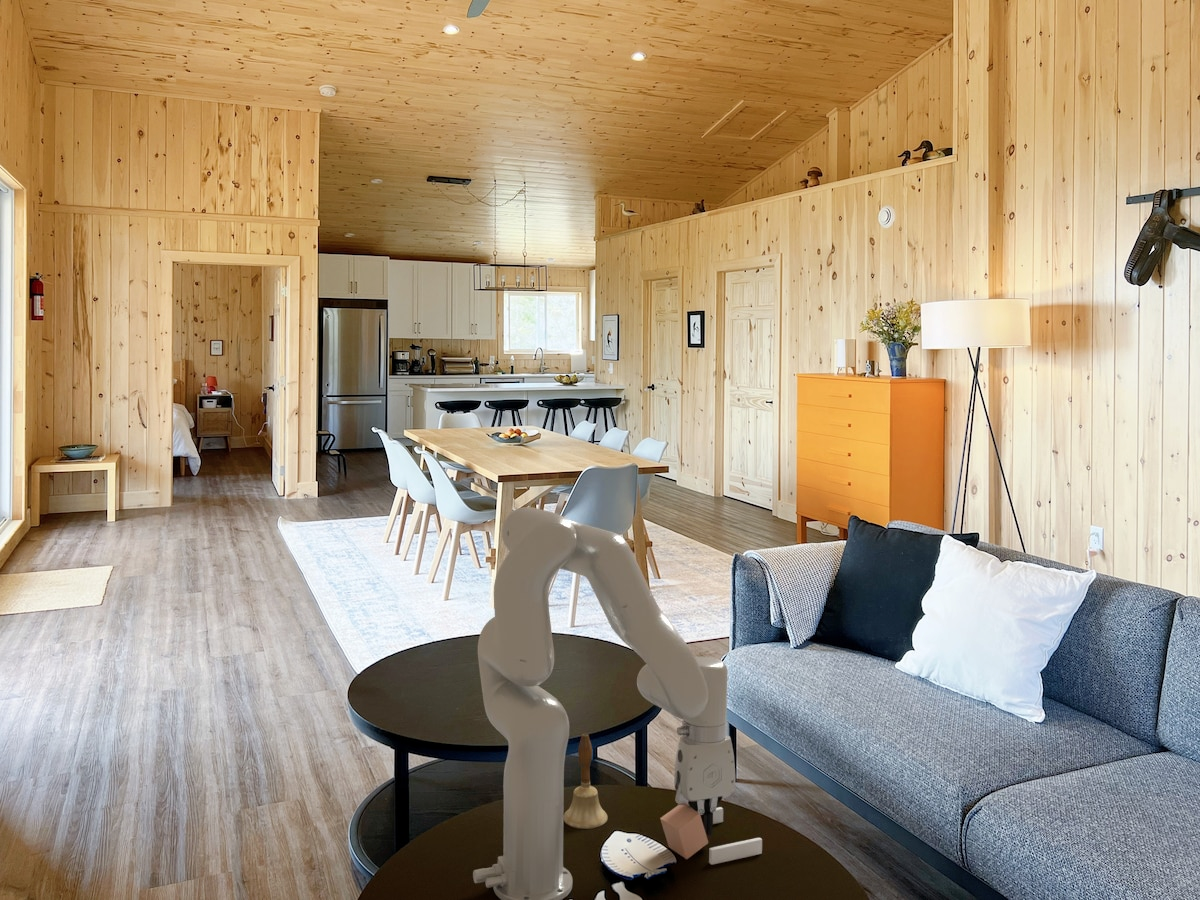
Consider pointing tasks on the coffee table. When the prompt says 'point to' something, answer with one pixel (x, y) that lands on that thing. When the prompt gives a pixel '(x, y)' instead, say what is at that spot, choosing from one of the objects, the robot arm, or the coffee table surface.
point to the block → (684, 830)
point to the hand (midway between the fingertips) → (703, 832)
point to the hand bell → (585, 794)
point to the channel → (733, 846)
